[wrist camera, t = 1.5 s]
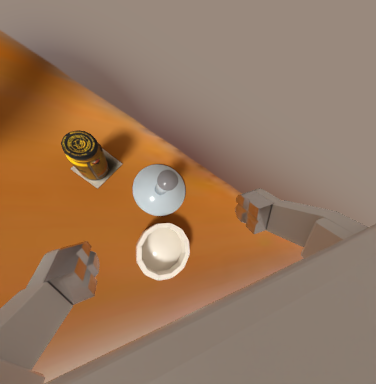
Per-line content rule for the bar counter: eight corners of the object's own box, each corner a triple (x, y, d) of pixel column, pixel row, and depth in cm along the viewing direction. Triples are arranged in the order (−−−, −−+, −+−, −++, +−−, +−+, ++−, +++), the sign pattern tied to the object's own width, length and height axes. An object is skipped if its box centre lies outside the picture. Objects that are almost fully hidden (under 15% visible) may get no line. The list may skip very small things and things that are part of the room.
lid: (132, 217, 37) (132, 214, 28) (133, 163, 40) (133, 145, 31) (185, 214, 42) (200, 211, 33) (182, 167, 45) (196, 152, 36)
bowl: (135, 278, 34) (136, 284, 31) (136, 225, 37) (137, 224, 33) (185, 269, 39) (190, 274, 35) (182, 222, 41) (187, 222, 38)
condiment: (70, 169, 35) (42, 142, 24) (98, 145, 38) (85, 112, 27) (97, 188, 36) (83, 172, 25) (122, 164, 39) (119, 139, 28)
